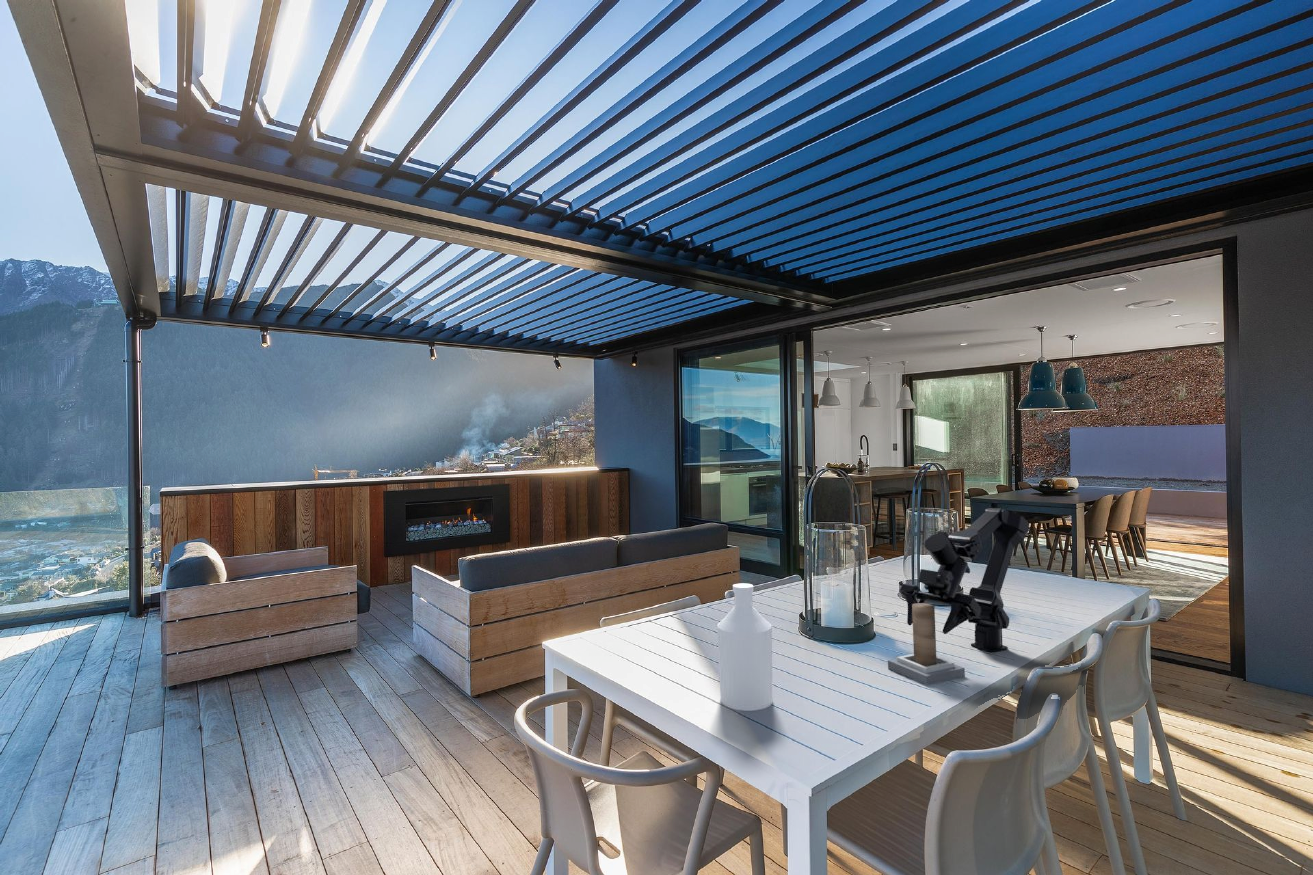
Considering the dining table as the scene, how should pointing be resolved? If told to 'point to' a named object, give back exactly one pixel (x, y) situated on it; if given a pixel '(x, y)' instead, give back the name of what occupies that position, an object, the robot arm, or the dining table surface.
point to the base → (926, 669)
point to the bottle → (745, 654)
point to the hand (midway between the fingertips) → (925, 628)
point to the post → (924, 634)
